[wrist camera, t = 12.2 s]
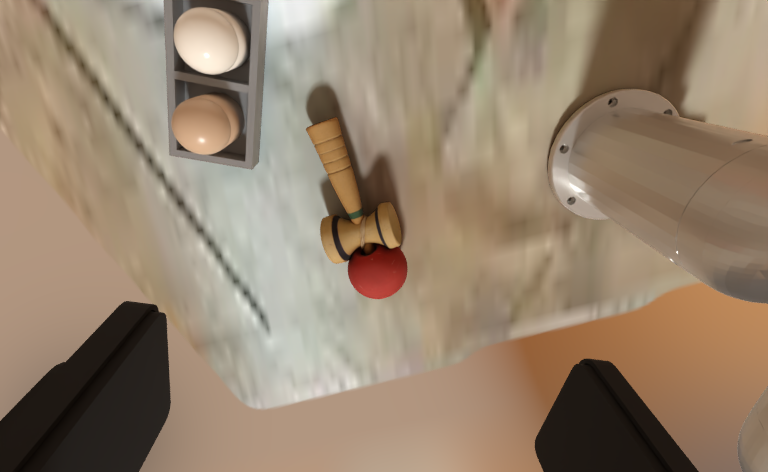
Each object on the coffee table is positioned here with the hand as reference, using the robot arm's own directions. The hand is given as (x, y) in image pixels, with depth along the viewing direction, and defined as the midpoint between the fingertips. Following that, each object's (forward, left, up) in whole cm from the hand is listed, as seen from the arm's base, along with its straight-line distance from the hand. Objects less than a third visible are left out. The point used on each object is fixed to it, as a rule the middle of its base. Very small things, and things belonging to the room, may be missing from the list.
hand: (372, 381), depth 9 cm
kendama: (0, +8, -31) cm, 32 cm away
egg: (+13, -5, -30) cm, 33 cm away
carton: (+13, -2, -30) cm, 33 cm away
